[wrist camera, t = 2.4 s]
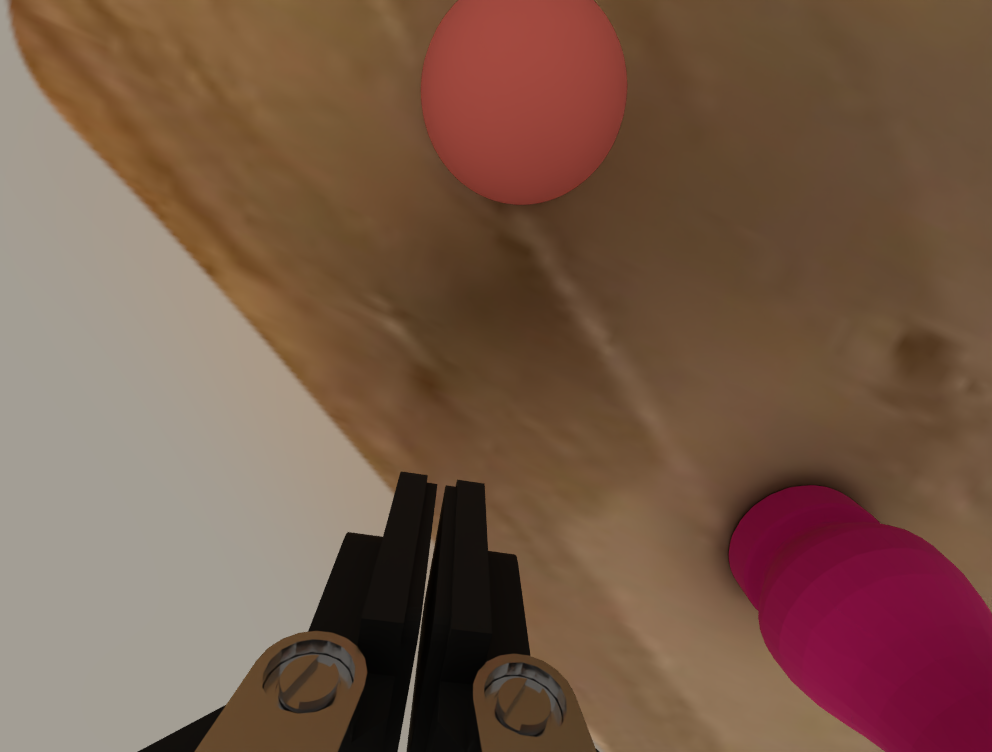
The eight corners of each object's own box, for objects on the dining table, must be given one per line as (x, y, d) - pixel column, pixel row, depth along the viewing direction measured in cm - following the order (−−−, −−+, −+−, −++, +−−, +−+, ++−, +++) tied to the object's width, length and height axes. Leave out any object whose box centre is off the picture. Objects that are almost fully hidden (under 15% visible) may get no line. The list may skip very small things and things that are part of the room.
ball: (620, 38, 18) (685, -42, 12) (580, 219, 20) (619, 224, 14) (445, -2, 18) (427, -105, 12) (419, 187, 19) (392, 178, 14)
